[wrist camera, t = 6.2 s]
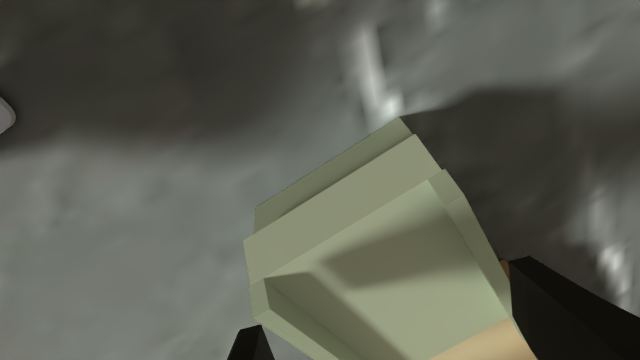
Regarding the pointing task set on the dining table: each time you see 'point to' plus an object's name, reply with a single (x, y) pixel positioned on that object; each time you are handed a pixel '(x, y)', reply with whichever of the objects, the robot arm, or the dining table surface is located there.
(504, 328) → the lane
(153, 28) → the dining table surface
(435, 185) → the ramp
